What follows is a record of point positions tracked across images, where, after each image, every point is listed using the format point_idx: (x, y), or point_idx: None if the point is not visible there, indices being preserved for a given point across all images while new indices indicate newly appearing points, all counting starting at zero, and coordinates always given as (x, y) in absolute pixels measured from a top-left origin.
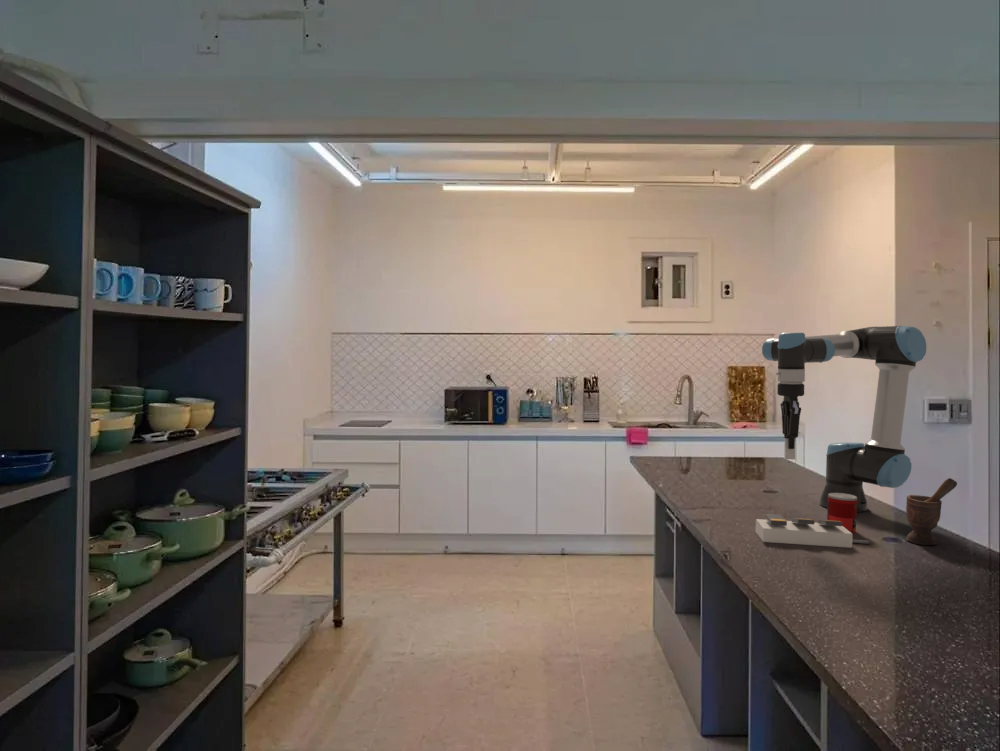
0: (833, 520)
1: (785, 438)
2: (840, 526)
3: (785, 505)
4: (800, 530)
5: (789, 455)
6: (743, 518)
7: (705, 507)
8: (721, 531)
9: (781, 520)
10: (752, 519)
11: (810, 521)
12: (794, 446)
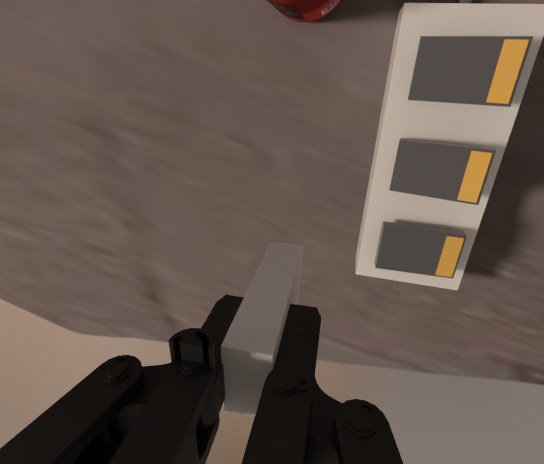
0: (422, 38)
1: (250, 410)
2: (440, 16)
3: (50, 70)
4: (488, 193)
5: (297, 291)
6: (231, 242)
7: (153, 294)
8: (358, 328)
9: (457, 249)
10: (235, 222)
11: (491, 163)
12: (287, 305)
